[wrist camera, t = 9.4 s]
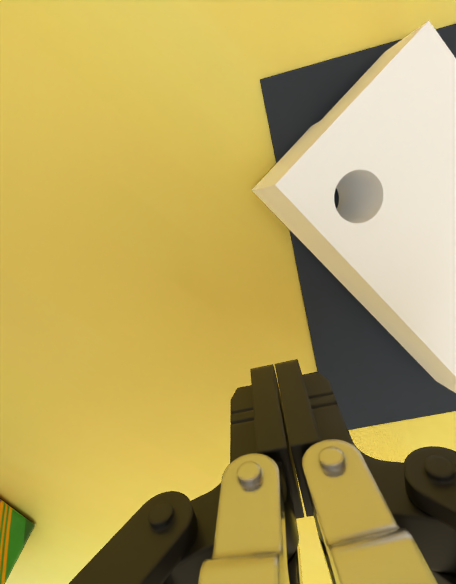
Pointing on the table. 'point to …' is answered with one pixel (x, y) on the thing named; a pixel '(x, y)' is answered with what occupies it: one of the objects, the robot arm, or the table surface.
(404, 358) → the mat
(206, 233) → the table surface
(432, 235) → the bracket
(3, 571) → the chalk box
